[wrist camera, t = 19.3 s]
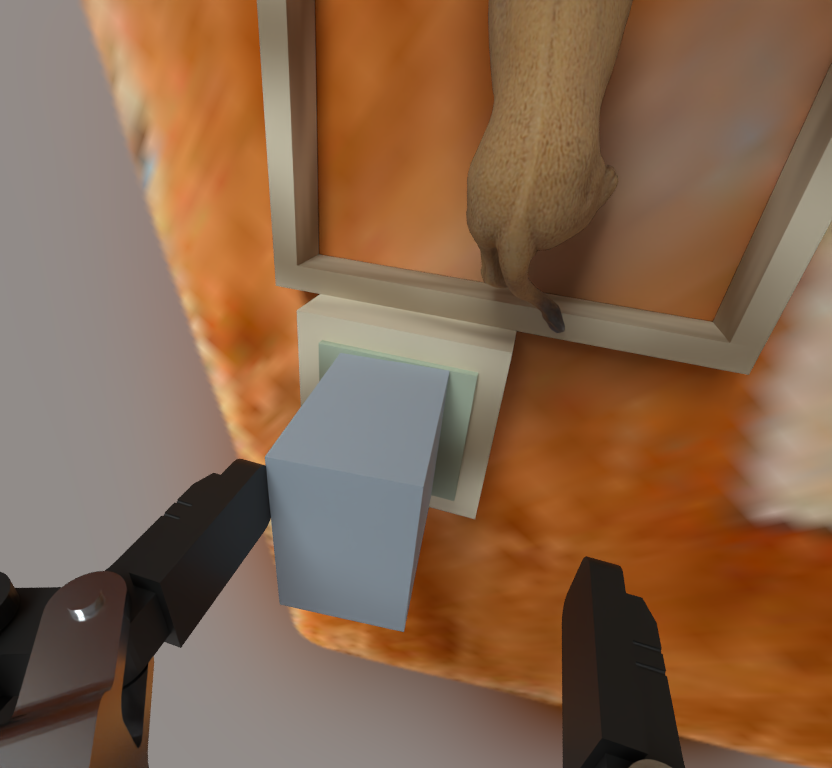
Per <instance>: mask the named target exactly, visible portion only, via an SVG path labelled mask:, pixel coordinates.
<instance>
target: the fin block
mask: <svg viewBox="0 0 832 768" xmlns="http://www.w3.org/2000/svg"><path fill="white" fill-rule="evenodd" d="M449 372H450V371H449V370H443V369H437V368H431V367H425V366H418V365H412V364H406V363H400V362H394V361H388V360H381V359H375V358H369V357H363V356H357V355H351V354H345V353H340V354H339V355H338V357H337V358H336V359H335V361H334V362H333V364H332V365H331V366H330V368H329V369H328V370H327V372H326V373H325V375H324V376H323V377H322V379H321V380H320V381H319V383H318V384H317V386H316V387H315V388H314V390H313V391H312V393H311V394H310V395H309V397H308V398H307V399H306V401H305V402H304V404H303V405H302V406H301V408H300V409H299V410H298V412H297V413H296V415H295V416H294V417H293V419H292V420H291V422H290V423H289V424H288V426H287V427H286V428H285V430H284V431H283V433H282V434H281V435H280V437H279V438H278V439H277V441H276V442H275V444H274V445H273V446H272V448H271V449H270V451H269V452H268V453H267V455H266V456H265V463H266V471H267V483H268V493H269V503H270V513H271V522H272V532H273V542H274V552H275V562H276V572H277V581H278V591H279V602H280V604H281V605H285V606H290V607H294V608H299V609H303V610H308V611H312V612H317V613H321V614H325V615H330V616H334V617H339V618H343V619H348V620H352V621H357V622H361V623H366V624H370V625H375V626H379V627H384V628H388V629H393V630H397V631H402V632H404V629H405V624H406V619H407V614H408V609H409V604H410V599H411V594H412V589H413V584H414V579H415V574H416V569H417V564H418V559H419V554H420V549H421V544H422V539H423V534H424V529H425V524H426V519H427V514H428V509H429V504H430V499H431V493H432V487H433V480H434V473H435V466H436V460H437V453H438V446H439V439H440V433H441V426H442V419H443V412H444V406H445V399H446V392H447V385H448V379H449Z"/></svg>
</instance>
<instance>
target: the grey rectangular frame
mask: <svg viewBox="0 0 832 768" xmlns="http://www.w3.org/2000/svg"><path fill="white" fill-rule="evenodd" d="M257 9H258V24H259V39H260V54H261V69H262V84H263V99H264V114H265V129H266V144H267V159H268V174H269V189H270V204H271V219H272V234H273V249H274V264H275V279H276V286H280V287H286V288H291V289H296V290H302V291H307V292H312V293H317V294H320V295H318V296H317V297H315V298H314V299H313V300H311V301H310V302H308V303H307V304H305V305H304V306H302V307H301V308H300V309H298V310H297V327H298V350H299V373H300V395H301V406H302V405H303V404H304V402H305V401H306V399H307V398H308V397H309V395H310V394H311V393H312V391H313V390H314V388H315V387H316V386H317V384H318V383H319V381H320V380H321V379H322V377H323V376H324V375H325V373H326V372H327V370H328V369H329V368H330V366H331V365H332V364H333V362H334V361H335V359H336V358H337V357H338V355H339V354H340V353H345V354H351V355H357V356H363V357H369V358H375V359H381V360H388V361H394V362H400V363H406V364H412V365H418V366H425V367H431V368H437V369H443V370H449V371H450V372H449V379H448V385H447V392H446V399H445V406H444V412H443V419H442V426H441V433H440V439H439V446H438V453H437V460H436V466H435V473H434V480H433V487H432V493H431V499H430V504H429V507H431V508H435V509H438V510H442V511H446V512H450V513H453V514H457V515H461V516H465V517H468V518H472V519H475V517H476V512H477V508H478V504H479V499H480V495H481V490H482V486H483V481H484V477H485V472H486V468H487V464H488V459H489V455H490V450H491V446H492V441H493V437H494V432H495V428H496V424H497V419H498V415H499V410H500V406H501V401H502V397H503V392H504V388H505V384H506V379H507V375H508V370H509V366H510V361H511V357H512V352H513V347H514V342H515V337H516V332H517V331H519V332H524V333H530V334H535V335H540V336H545V337H551V338H556V339H561V340H567V341H572V342H577V343H583V344H588V345H593V346H599V347H604V348H609V349H614V350H620V351H625V352H630V353H636V354H641V355H646V356H652V357H657V358H662V359H667V360H673V361H678V362H683V363H689V364H694V365H699V366H705V367H710V368H715V369H720V370H726V371H731V372H736V373H742V374H747V375H749V373H750V372H751V370H752V368H753V366H754V364H755V362H756V360H757V359H758V357H759V355H760V353H761V351H762V349H763V347H764V346H765V344H766V342H767V340H768V338H769V336H770V334H771V332H772V331H773V329H774V327H775V325H776V323H777V321H778V319H779V318H780V316H781V314H782V312H783V310H784V308H785V306H786V305H787V303H788V301H789V299H790V297H791V295H792V293H793V292H794V290H795V288H796V286H797V284H798V282H799V280H800V278H801V277H802V275H803V273H804V271H805V269H806V267H807V265H808V264H809V262H810V260H811V258H812V256H813V254H814V252H815V251H816V249H817V247H818V245H819V243H820V241H821V239H822V238H823V236H824V234H825V232H826V230H827V228H828V226H829V225H830V223H831V221H832V64H831V66H830V68H829V70H828V72H827V74H826V77H825V79H824V81H823V83H822V85H821V88H820V90H819V92H818V94H817V96H816V98H815V101H814V103H813V105H812V107H811V109H810V111H809V114H808V116H807V118H806V120H805V122H804V125H803V127H802V129H801V131H800V133H799V135H798V138H797V140H796V142H795V144H794V146H793V148H792V151H791V153H790V155H789V157H788V159H787V162H786V164H785V166H784V168H783V170H782V172H781V175H780V177H779V179H778V181H777V183H776V186H775V188H774V190H773V192H772V194H771V196H770V199H769V201H768V203H767V205H766V207H765V209H764V212H763V214H762V216H761V218H760V220H759V223H758V225H757V227H756V229H755V231H754V233H753V236H752V238H751V240H750V242H749V244H748V246H747V249H746V251H745V253H744V255H743V257H742V260H741V262H740V264H739V266H738V268H737V270H736V273H735V275H734V277H733V279H732V281H731V283H730V286H729V288H728V290H727V292H726V294H725V297H724V299H723V301H722V303H721V305H720V307H719V310H718V312H717V314H716V316H715V318H714V320H713V322H710V321H704V320H698V319H693V318H687V317H681V316H675V315H669V314H663V313H658V312H652V311H646V310H640V309H634V308H629V307H623V306H617V305H611V304H605V303H599V302H594V301H588V300H582V299H576V298H570V297H564V296H559V295H553V294H547V293H545V294H546V295H548V296H549V297H550V299H551V300H553V301H554V302H555V303H557V304H558V305H559V308H560V310H561V313H562V317H563V321H564V324H565V331H564V332H562V333H555V332H554V331H552V330H551V329H550V328H549V326H548V324H547V322H546V321H545V320H544V319H543V317H542V312H541V311H540V310H539V309H537V308H536V307H535V306H534V305H532V304H531V303H529V302H527V301H524V300H521V299H519V298H517V297H516V296H515V295H513V294H512V293H511V291H510V290H509V288H508V287H507V288H496V287H493V286H490V285H488V284H486V283H483V282H477V281H471V280H465V279H460V278H454V277H448V276H442V275H436V274H431V273H425V272H419V271H413V270H407V269H401V268H396V267H390V266H384V265H378V264H372V263H366V262H361V261H355V260H349V259H343V258H337V257H332V256H326V255H320V254H319V229H318V168H317V106H316V45H315V0H257Z"/></svg>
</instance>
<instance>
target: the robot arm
mask: <svg viewBox="0 0 832 768" xmlns="http://www.w3.org/2000/svg"><path fill="white" fill-rule="evenodd" d="M270 518H271V513H270V503H269V493H268V483H267V471H266V466H265V465H262V464H258V463H254V462H251V461H247V460H244V459H237V460H235V461H234V462H233V463H232V464H231V465H230V466H229V467H228V468H227V469H226V470H225V471H224V472H223V473H222V474H221V475H219V474H216V473H212V474H211V475H209V476H207V477H205V478H203V479H202V480H200V481H198V482H196V483H194V484H193V485H192V486H191V487H190V488H189V489H188V490H187V491H186V492H185V493H184V494H183V495H182V496H181V497H180V498H179V499H178V501H177V503H174V504H173V505H172V506H171V507H170V508H169V509H168V510H167V511H166V512H165V514H164V516H161V517H160V518H159V519H158V520H157V521H156V522H155V523H154V524H153V525H152V526H151V527H150V528H149V529H148V530H147V531H146V532H145V533H144V534H143V535H142V536H141V537H140V538H139V539H138V540H137V541H136V542H135V543H134V544H133V545H132V546H131V547H130V548H129V549H128V550H127V551H126V552H125V553H124V554H123V555H122V556H121V557H120V558H119V559H118V560H117V561H116V562H115V563H113V565H111V566H110V567H109V568H108V569H106V570H105V571H97V572H91V573H88V574H85V575H82V576H80V577H78V578H75V579H74V580H72V581H70V582H68V583H67V584H65V585H64V586H63V587H57V588H56V587H53V588H14V586H13V584H12V583H11V581H10V579H9V578H8V576H7V575H6V574H4V573H2V572H0V768H149V765H148V738H149V724H150V710H151V698H152V683H153V671H154V655H155V653H156V652H157V651H158V649H159V648H160V647H161V645H162V644H163V643H164V642H167V643H169V644H172V645H175V646H178V647H180V648H181V647H182V645H183V644H184V643H185V641H186V640H187V638H188V637H189V635H190V634H191V633H192V631H193V630H194V629H195V627H196V626H197V624H198V623H199V622H200V620H201V619H202V617H203V616H204V615H205V613H206V612H207V610H208V609H209V608H210V606H211V605H212V604H213V602H214V601H215V599H216V598H217V596H218V595H219V594H220V592H221V591H222V590H223V588H224V587H225V585H226V584H227V583H228V581H229V580H230V578H231V577H232V576H233V574H234V573H235V571H236V570H237V569H238V567H239V566H240V564H241V563H242V561H243V560H244V559H245V557H246V556H247V555H248V553H249V552H250V550H251V549H252V548H253V546H254V545H255V543H256V542H257V541H258V539H259V538H260V536H261V535H262V534H263V532H264V531H265V529H266V527H267V526H268V524H269V521H270ZM665 671H666V669H665V664H664V659H663V654H661V644H660V638H659V633H658V628H657V623H656V621H655V619H654V618H653V616H652V614H651V612H650V611H649V609H648V607H647V605H646V604H645V602H644V600H643V598H641V597H637V596H634V595H631V594H627V593H626V591H625V584H624V577H623V571H622V568H621V567H620V566H619V565H615V564H612V563H608V562H605V561H601V560H598V559H594V558H590V557H587V556H586V557H584V559H583V560H582V562H581V565H580V567H579V569H578V571H577V573H576V575H575V578H574V580H573V582H572V584H571V586H570V589H569V591H568V593H567V596H566V599H565V602H564V607H563V614H562V710H563V712H562V715H563V768H685V765H684V761H683V757H682V752H681V746H680V742H679V736H678V731H677V726H676V721H675V715H674V710H673V705H672V700H671V695H670V690H669V685H668V679H667V676H665Z"/></svg>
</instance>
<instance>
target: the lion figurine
mask: <svg viewBox="0 0 832 768" xmlns="http://www.w3.org/2000/svg"><path fill="white" fill-rule="evenodd" d="M632 1H633V0H489V9H488V25H489V49H490V62H491V76H492V87H493V94H494V105H493V111H492V115H491V118H490V121H489V124H488V126H487V128H486V131H485V133H484V135H483V138H482V140H481V142H480V145H479V147H478V149H477V151H476V154H475V156H474V158H473V160H472V162H471V165H470V169H469V172H468V178H467V212H466V215H467V224H468V228H469V231H470V233H471V235H472V237H473V238H474V240H475V242H476V243H477V244H478V246H479V248H480V250H481V260H482V269H481V274H482V278H483V280H484V281H485V283H486V284H488V285H490V286H493V287H496V288H507V287H508V288H509V290H510V291H511V293H512V294H513V295H515V296H516V297H517V298H519V299H521V300H524V301H527V302H529V303H531V304H532V305H534V306H535V307H536V308H537V309H539V310H540V311H541V312H542V317H543V319H544V320H545V321H546V322H547V324H548V326H549V328H550V329H551V330H552V331H554V332H555V333H562V332H564V331H565V324H564V321H563V317H562V313H561V310H560V308H559V305H558V304H557V303H555V302H554V301H553V300H551V299H550V297H549V296H548V295H546V294H545V293H543V292H541V291H540V290H539V289H537V288H536V287H535V286H534V285H533V284H532V283H531V282H530V281H529V278H528V268H529V264H530V261H531V258H533V257H534V255H535V254H536V252H537V250H547V249H551V248H553V247H555V246H557V245H559V244H561V243H562V242H564V241H566V240H568V239H569V238H571V237H573V236H574V235H576V234H577V233H579V232H580V231H582V230H583V229H584V228H585V227H586V226H587V225H588V224H589V223H590V221H591V220H592V219H593V217H594V215H595V214H596V212H597V210H598V209H599V208H600V207H601V206H602V205H603V204H604V203H605V202H606V201H607V200H608V199H609V198H610V196H611V195H612V193H613V192H614V190H615V188H616V186H617V183H618V176H617V175H616V172H615V170H614V168H613V167H612V166H609V165H605V164H604V161H603V158H602V156H601V154H600V135H599V118H600V108H601V104H602V100H603V97H604V93H605V90H606V87H607V84H608V82H609V79H610V76H611V73H612V70H613V68H614V64H615V61H616V58H617V54H618V51H619V47H620V43H621V40H622V36H623V33H624V29H625V26H626V22H627V19H628V16H629V12H630V9H631V5H632Z"/></svg>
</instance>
